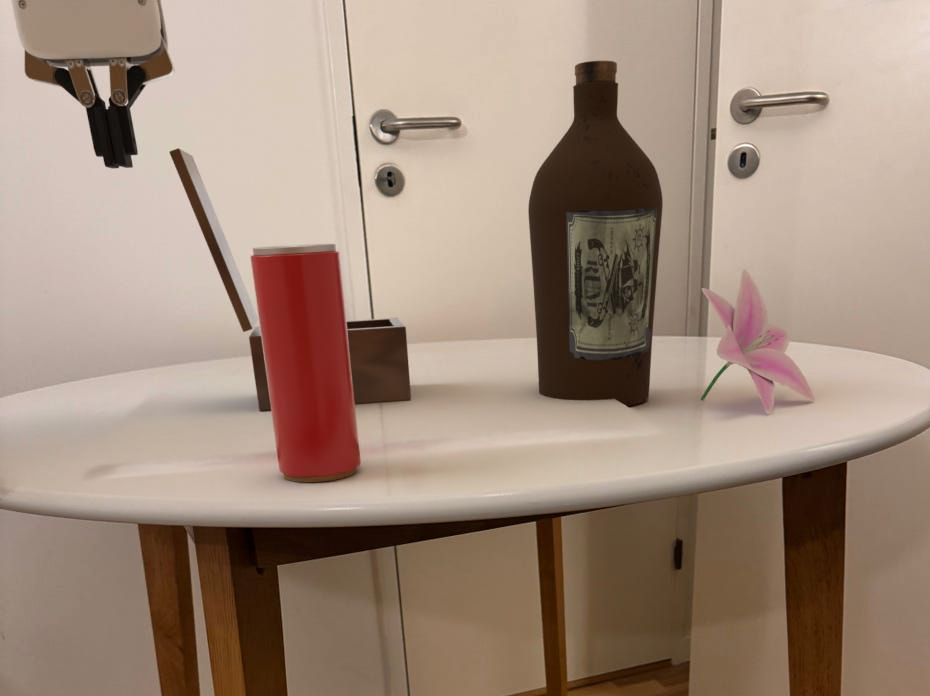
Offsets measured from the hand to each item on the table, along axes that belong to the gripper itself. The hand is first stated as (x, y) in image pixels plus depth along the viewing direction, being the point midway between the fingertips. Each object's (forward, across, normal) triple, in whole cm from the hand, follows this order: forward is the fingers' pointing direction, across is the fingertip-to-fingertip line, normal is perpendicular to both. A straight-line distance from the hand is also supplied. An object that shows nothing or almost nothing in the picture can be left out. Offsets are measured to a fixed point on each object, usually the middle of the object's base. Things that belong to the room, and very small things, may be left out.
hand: (119, 166), depth 73 cm
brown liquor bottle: (+20, -37, +6) cm, 42 cm away
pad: (+20, -13, +24) cm, 34 cm away
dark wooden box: (+20, -15, 0) cm, 25 cm away
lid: (+6, -7, 0) cm, 9 cm away
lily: (+20, -48, +13) cm, 53 cm away
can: (+19, -13, +24) cm, 33 cm away
